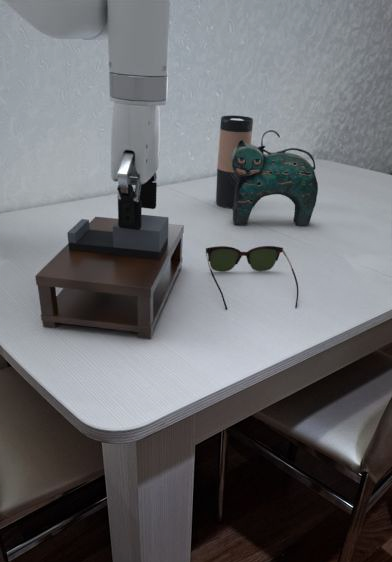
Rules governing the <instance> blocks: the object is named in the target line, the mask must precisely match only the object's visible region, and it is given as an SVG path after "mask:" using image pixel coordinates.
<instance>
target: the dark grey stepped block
mask: <svg viewBox="0 0 392 562" xmlns="http://www.w3.org/2000/svg"><path fill="white" fill-rule="evenodd" d="M89 223H90V219H84V218H81V219H80V220H79V221H78V222H77V223H76V224H75V225H74V226H73V227H71V229H69V230H68V231H67V242H68V243H67V244H68V245H69V250H73V251H83V252H92V253H102V254H112V255H121V256H131V257H140V258H150V259H160V258H161V256H162V254H163V252H164V250H165V249H166V247H167V245H168V224H169V216H161V215H160V216H158V215H152V214H151V215H150V214H141V228H140V230H134V229H125V228H120V227H119V226H118V221H117V222H116V223H115V225H114V226H113V232H110V231H100V230H90V229H89Z"/></svg>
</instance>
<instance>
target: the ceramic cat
mask: <svg viewBox="0 0 392 562" xmlns="http://www.w3.org/2000/svg"><path fill="white" fill-rule="evenodd" d="M268 133H274V134H275V135H276V136H277V137H278V138H280V137H281V135H280V133H278V132H277V131H276V130H273V129H269V130H266V131H265V132H263V134H262V136H261V142H260V145H259V146H256V145H254V144H253V143H251V144H247V143H244V142H243V141H242V140H241V141H240V142H239V143H238V146H237V147H236V148H235V150H234V151H233V155H232V167H233V170H234V172H235V173H236V174H237V175H238V176H239V177H238V179H237V184H236V189H235V193H234V205H233V208H232V217H231V218H232V219H231V220H232V223H233V224H234V226H247V225H248V224H249V223H248V222H249V218H250V215H251V213H252V210H253V209H254V207H255V205H256V204H257V203H258V202H259V201H260V200H261V199H262V198H265V197H267V196H273V195H281V196H284V197H286V198H288V199H289V200H290V201H291V202H292V203H293V205H294V214H293V220H292V221H293V223H294V224H295V226H298V227H307V226H309V225H310V222H311V219H312V216H313V212H314V210H315V207H316V204H317V198H318V193H319V184H318V180H317V176H316V172H315V171H316V162H315V158H314V157H313V155H312V154H311V153H310V152H309V151H307V150H305V149H303V148H296V147H289V148H286V149H283V150H279V151H275V152H271V151H268V150H266V145H264V144H263V139H264V138H265V137H264V136H265V135H266V134H268ZM289 151H297V152H300V153H304V154H306V155H308V156H309V158H310V159H311V161H312V164H313V165H312V164H311V163H310V162H309V161H308V160H307V159H306V158H304V157H302V156H301V155H299V154H295V153H293V152H289Z"/></svg>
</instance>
